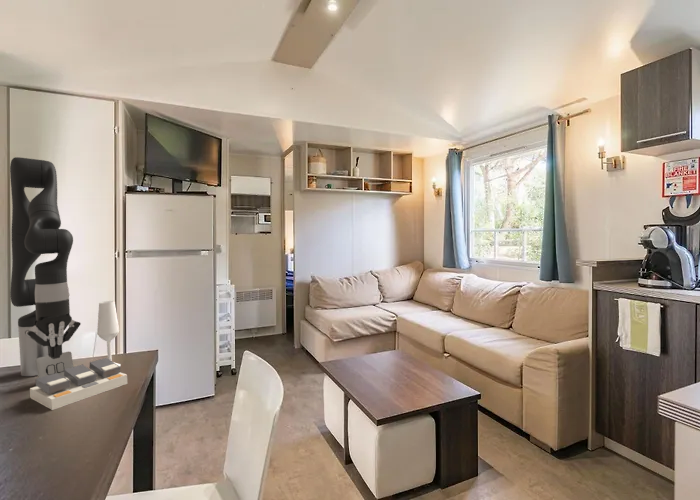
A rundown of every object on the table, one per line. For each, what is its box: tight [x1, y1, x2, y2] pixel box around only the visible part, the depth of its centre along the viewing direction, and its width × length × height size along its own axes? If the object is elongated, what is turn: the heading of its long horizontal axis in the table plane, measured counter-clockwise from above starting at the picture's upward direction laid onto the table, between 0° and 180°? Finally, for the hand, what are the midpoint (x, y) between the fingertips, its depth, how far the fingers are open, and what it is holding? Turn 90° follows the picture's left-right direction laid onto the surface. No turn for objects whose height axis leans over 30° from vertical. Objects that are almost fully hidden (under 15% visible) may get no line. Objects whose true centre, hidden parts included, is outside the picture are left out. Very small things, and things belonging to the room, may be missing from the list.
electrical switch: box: [36, 351, 74, 378], centre depth 120 cm, size 9×5×9 cm, turn 141°
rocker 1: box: [35, 373, 70, 394], centre depth 106 cm, size 9×5×2 cm, turn 59°
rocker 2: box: [88, 357, 121, 378], centre depth 118 cm, size 9×5×2 cm, turn 60°
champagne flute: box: [96, 300, 121, 367], centre depth 132 cm, size 7×7×24 cm
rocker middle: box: [64, 364, 97, 386], centre depth 112 cm, size 9×5×2 cm, turn 60°
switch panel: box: [29, 369, 129, 411], centre depth 112 cm, size 15×20×4 cm
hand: (55, 357), depth 104 cm, fingers closed
